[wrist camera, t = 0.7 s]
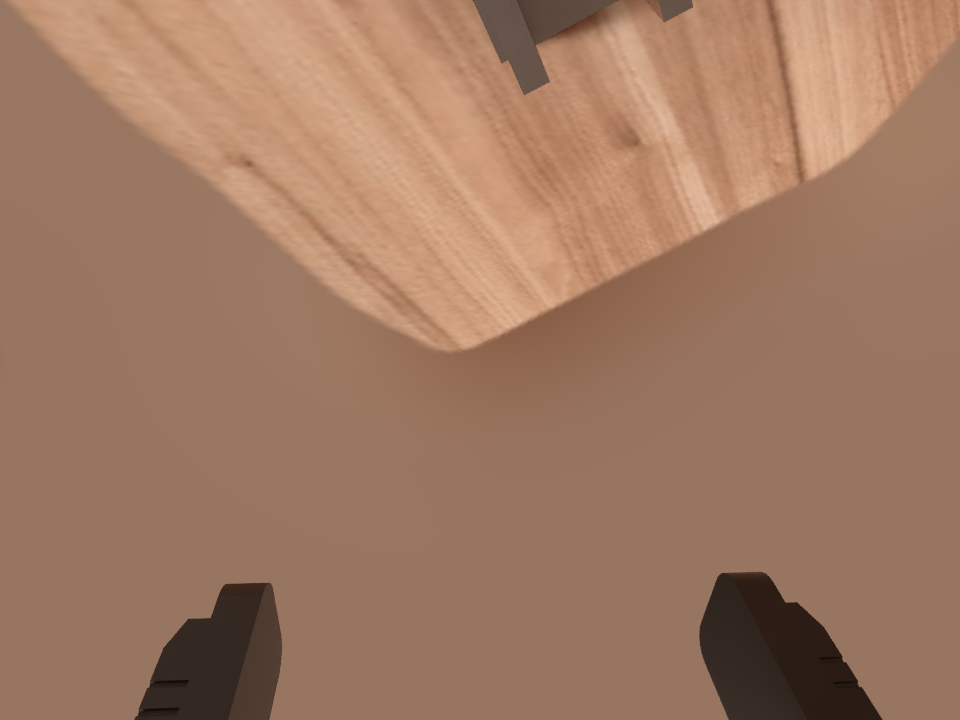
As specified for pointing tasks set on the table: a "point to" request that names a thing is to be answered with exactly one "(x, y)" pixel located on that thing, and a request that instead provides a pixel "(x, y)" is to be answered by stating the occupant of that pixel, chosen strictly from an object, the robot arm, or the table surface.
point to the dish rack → (544, 28)
